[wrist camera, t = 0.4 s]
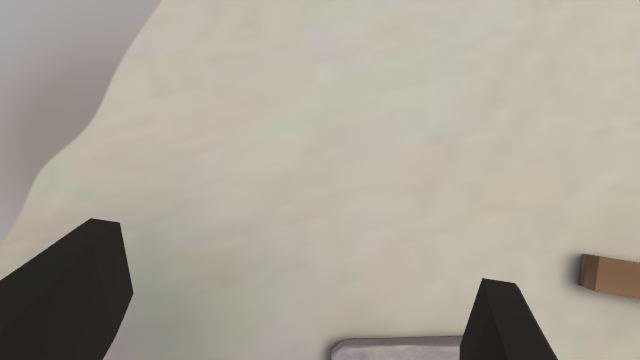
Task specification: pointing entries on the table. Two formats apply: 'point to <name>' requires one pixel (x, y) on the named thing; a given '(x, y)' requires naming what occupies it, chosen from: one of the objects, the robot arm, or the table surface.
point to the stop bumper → (610, 275)
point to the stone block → (398, 348)
